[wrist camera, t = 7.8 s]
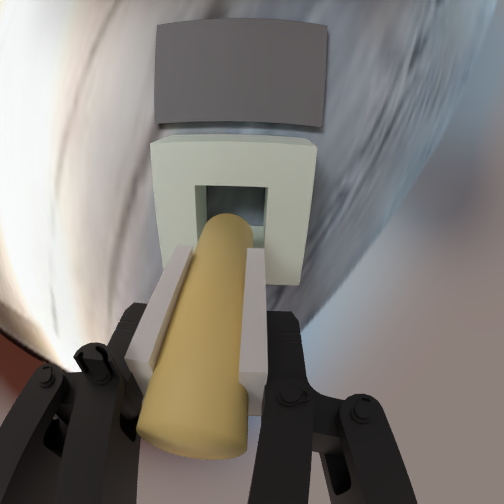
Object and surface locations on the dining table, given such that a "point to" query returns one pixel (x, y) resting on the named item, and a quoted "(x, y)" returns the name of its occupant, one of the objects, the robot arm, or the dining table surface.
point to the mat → (240, 71)
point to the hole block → (236, 174)
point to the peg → (203, 353)
